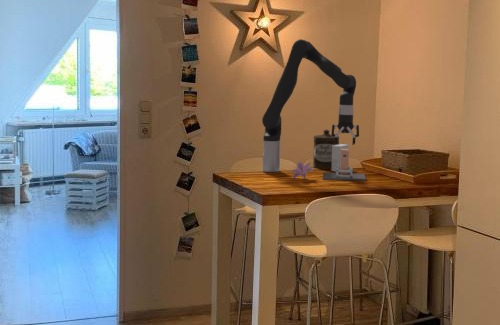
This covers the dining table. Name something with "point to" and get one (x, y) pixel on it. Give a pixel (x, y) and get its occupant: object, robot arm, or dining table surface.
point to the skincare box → (337, 155)
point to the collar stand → (344, 177)
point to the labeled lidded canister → (323, 150)
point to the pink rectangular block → (344, 160)
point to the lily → (301, 170)
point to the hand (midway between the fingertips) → (344, 144)
